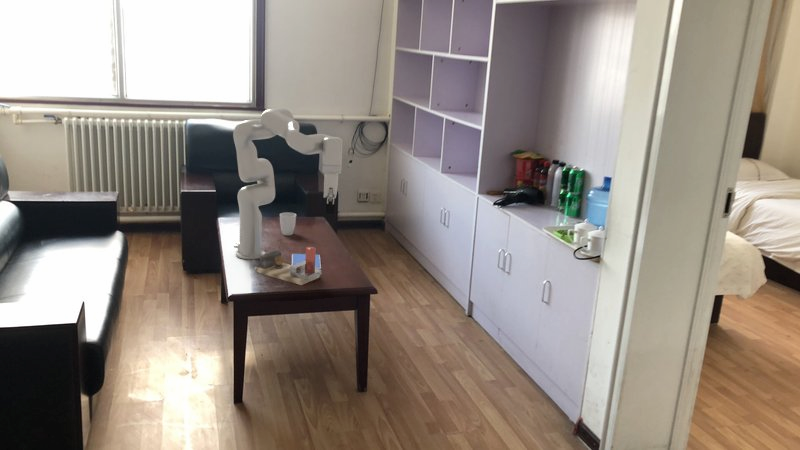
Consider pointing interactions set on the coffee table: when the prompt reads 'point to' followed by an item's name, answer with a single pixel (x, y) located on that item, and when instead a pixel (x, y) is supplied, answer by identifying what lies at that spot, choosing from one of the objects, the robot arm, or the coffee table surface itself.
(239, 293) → the coffee table surface
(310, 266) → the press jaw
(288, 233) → the cup
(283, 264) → the base
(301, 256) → the tablet computer
